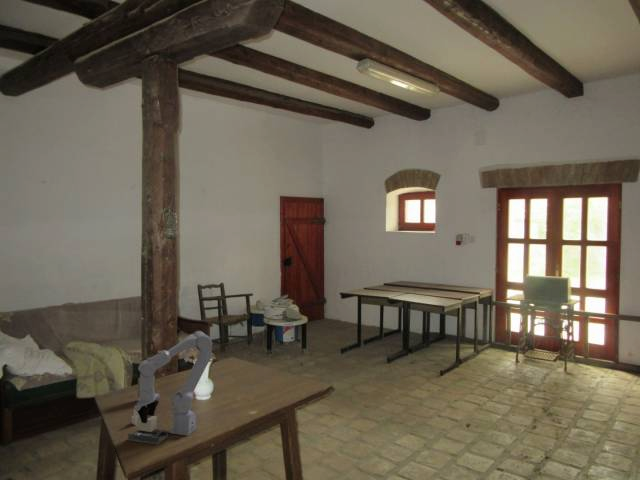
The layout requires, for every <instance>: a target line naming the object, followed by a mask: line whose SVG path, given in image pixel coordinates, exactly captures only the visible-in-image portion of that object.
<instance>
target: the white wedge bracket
mask: <svg viewBox="0 0 640 480" xmlns="http://www.w3.org/2000/svg"><path fill="white" fill-rule="evenodd" d="M138 417H140V416H139V414H138V412H137V411H136V410H134V409H133V415H132V416H131V424H133V425H134V426H137V418H138Z"/></svg>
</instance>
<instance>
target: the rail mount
mask: <svg viewBox="0 0 640 480" xmlns="http://www.w3.org/2000/svg"><path fill="white" fill-rule="evenodd" d="M168 437H169V434H168V430H165V429H158V428H156V429H155V430H153V431H152V432H148V431H141V430H136V431H135V432H133V433H131V432H129V433H128V434H127V437H126V440H127V441H131V442H138V443H145V444H150V445H157V446H158V445H159V444H161V443H162V442H164V441H165V440H167V438H168Z"/></svg>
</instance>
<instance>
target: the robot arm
mask: <svg viewBox="0 0 640 480" xmlns="http://www.w3.org/2000/svg"><path fill="white" fill-rule="evenodd" d="M213 345H214V344H213V341H212V339H211V337H210V336H209V335H207V334H206V333H205V332H203V331H201V330H197V331H194V332H193V333H191V334H189V335H188V336H187V337H185V338H184V339H183V340H181V341H179V343H177V344H175V345H174V346H173V347H171V348H169V349H168V350H165V349H163V350H158V351H157V354H155V355H152V356H151V357H148V358H147V359H146V360H142V361H140V364H139V365H138V367H137V370H138V372H139V371H140V372H141V373H140V398H139V399H137V403H136V404H135V405H133V406H134V407H133V408H134V409H133V411H134V410H136V411H137V412H138V414H139V416H140V419H141V422H142V423H147V416H148V415H149V416H155V413H156V409H157V407H158V405H159V400H156V399H160V393H158V392H155V393H154V373H156V371H157V370H159V369H160V368H162V367H164V366H165V365H167V364H168V363H170V362H171V360H172V359H173V357H175V356H176V355H179V354H180V353H182V352H184V351H186V350H188V349H197V351H198V356H197V358H196V360H195V362H194V364H193V365H192V368H191V370H190V372H189V373H188V376H187V377H186V379H185V381H184V383H183V385H182V386H181V387H180V388H179V389H178V390H177V392H176V393H175V394H174V395H173V396H172V397H171V404H172V405H173V408H172V409H173V410H172V429H170V430H169V431H168V433H169V434H173V435H180V436H188V437H189V435H191V434H192V433H193V432H194V431H196V429H197V415H196V413H195V412H194V411H191V410H190V409H192V401H193V398H194V391H195V390H196V388H197V385H198V384H199V382H200V381H201V380H200V379H201V378H202V376H203V374H204V372H205V369H206V368H207V366H208V364H209V362H210V360H211V359H212V356H213Z"/></svg>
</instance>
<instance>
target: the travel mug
mask: <svg viewBox="0 0 640 480" xmlns="http://www.w3.org/2000/svg"><path fill="white" fill-rule="evenodd" d="M140 373H141V372H140V371H139V370H138V373H137V397H138V399H139V398H140ZM155 373H156V372H155ZM155 373H154V393H156V390H155V389H156V388H155V387H156V384H155V383H156V381H155V380H156V379H155ZM138 399H137V400H138Z"/></svg>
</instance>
